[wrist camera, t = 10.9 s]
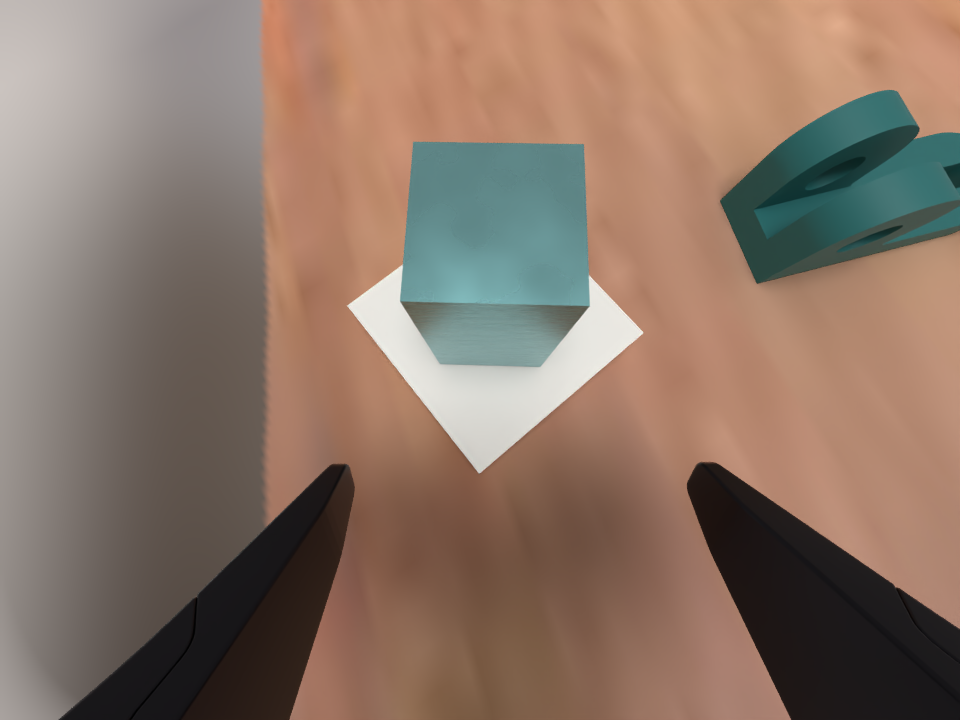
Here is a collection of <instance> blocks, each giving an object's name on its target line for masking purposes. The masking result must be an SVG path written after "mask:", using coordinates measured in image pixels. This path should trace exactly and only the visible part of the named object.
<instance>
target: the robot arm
mask: <svg viewBox="0 0 960 720" xmlns="http://www.w3.org/2000/svg"><path fill="white" fill-rule="evenodd" d="M354 490H355V486H354V481H353V478H352V474H351V471H350V467H349V465H347V464H332V465H330V466H329V467H328V468H327V469H325V470H324V471H323V472H322V473H321V474H320V475H319V476H318V477H317V478H316V479H315V480H314V481H313V482H312V483H311V484H310V485H309V486H308V487H307V488H306V489H305V490H304V491H303V492H302V493H301V494H300V495H299V496H298V497H297V498H296V499H295V500H294V501H293V502H292V503H291V504H290V505H289V506H287V507H286V508H285V509H284V510H283V511H282V512H281V513H280V514H279V515H278V516H277V517H276V518H275V519H274V520H273V521H272V522H271V523H270V524H269V525H268V526H267V527H266V528H265V529H264V530H263V531H262V532H261V533H260V534H259V535H258V536H257V537H256V538H255V539H254V540H253V541H252V542H250V543H249V544H248V545H247V546H246V547H245V549H243V550H242V551H241V552H240V553H239V554H238V555H237V556H236V557H235V558H234V559H233V560H232V561H231V562H230V563H229V564H228V565H227V566H226V567H225V568H224V569H223V570H222V571H221V572H220V573H219V574H218V575H217V576H216V577H215V578H213V580H211V581H210V582H209V583H208V584H207V585H206V586H205V587H204V588H203V589H202V590H201V591H200V592H199V593H198V595H197V597H194V598H193V599H192V600H191V601H190V602H189V603H188V604H187V605H186V606H185V607H184V608H183V609H181V610H180V611H179V612H178V613H177V614H176V615H175V616H174V617H173V618H172V619H171V620H170V621H169V622H168V623H167V624H166V625H165V626H164V627H163V628H161V629H160V630H159V631H158V632H157V633H156V634H155V635H154V636H153V637H152V638H151V639H150V640H149V641H148V642H147V643H146V644H144V645H143V646H142V647H141V648H140V649H139V650H138V651H137V652H136V653H134V654H133V655H132V656H131V657H130V658H129V659H128V660H126V661H125V663H123V664H122V665H121V666H120V667H119V668H118V669H116V670H115V671H114V672H113V673H112V674H111V675H110V676H109V677H107V678H106V679H105V680H104V681H103V682H102V683H100V684H99V685H98V686H97V687H96V688H95V689H94V690H92V691H91V692H90V693H89V694H88V695H87V696H85V697H84V698H83V699H82V700H81V701H80V702H78V703H77V704H76V705H75V706H74V707H73V708H71V710H69V711H68V712H67V713H66V714H65V715H63V716H62V717H61V718H60V719H59V720H289V719H290V716H291V713H292V709H293V706H294V703H295V700H296V697H297V694H298V691H299V687H300V684H301V681H302V678H303V675H304V672H305V669H306V665H307V662H308V659H309V656H310V653H311V650H312V647H313V643H314V640H315V637H316V634H317V631H318V628H319V625H320V621H321V618H322V615H323V612H324V609H325V606H326V602H327V599H328V596H329V593H330V590H331V587H332V584H333V580H334V577H335V574H336V571H337V568H338V565H339V561H340V558H341V554H342V550H343V546H344V541H345V536H346V531H347V526H348V521H349V516H350V512H351V507H352V502H353V497H354ZM687 491H688V494H689V497H690V499H691V502H692V505H693V507H694V510H695V513H696V515H697V518H698V521H699V524H700V526H701V529H702V532H703V534H704V537H705V540H706V542H707V545H708V547H709V550H710V552H711V554H712V556H713V559H714V561H715V563H716V565H717V567H718V569H719V571H720V573H721V575H722V577H723V579H724V581H725V584H726V586H727V588H728V590H729V592H730V594H731V596H732V598H733V600H734V602H735V604H736V606H737V608H738V610H739V613H740V615H741V617H742V619H743V621H744V623H745V625H746V627H747V629H748V631H749V633H750V635H751V637H752V639H753V642H754V644H755V646H756V648H757V650H758V652H759V654H760V656H761V658H762V660H763V662H764V664H765V666H766V668H767V670H768V673H769V675H770V677H771V679H772V681H773V683H774V685H775V687H776V689H777V691H778V693H779V695H780V697H781V699H782V702H783V704H784V706H785V708H786V710H787V712H788V714H789V716H790V718H791V720H960V629H959V628H957V627H956V626H954V625H953V624H951V623H950V622H948V621H947V620H945V619H944V618H942V617H941V616H939V615H938V614H936V613H935V612H933V611H932V610H930V609H929V608H927V607H926V606H924V605H923V604H922V603H920V602H919V601H917V600H916V599H914V598H913V597H911V596H910V595H908V594H907V593H906V592H904V591H903V590H901V589H900V588H895V586H894V585H893V584H892V583H891V582H889V581H888V580H886V579H885V578H884V577H882V576H881V575H879V574H878V573H876V572H875V571H873V570H872V569H870V568H869V567H868V566H866V565H865V564H863V563H862V562H860V561H859V560H857V559H856V558H854V557H853V556H852V555H850V554H849V553H847V552H846V551H844V550H843V549H841V548H840V547H838V546H837V545H835V544H834V543H833V542H831V541H830V540H828V539H827V538H825V537H824V536H822V535H821V534H819V533H818V532H817V531H815V530H814V529H812V528H811V527H809V526H808V525H806V524H805V523H803V522H802V521H801V520H799V519H798V518H796V517H795V516H793V515H792V514H790V513H789V512H787V511H786V510H785V509H783V508H782V507H780V506H779V505H777V504H776V503H774V502H773V501H771V500H770V499H769V498H767V497H766V496H764V495H763V494H761V493H760V492H758V491H757V490H755V489H754V488H753V487H751V486H750V485H748V484H747V483H745V482H744V481H742V480H741V479H739V478H738V477H737V476H735V475H734V474H732V473H731V472H729V471H728V470H726V469H725V468H723V467H722V466H720V465H719V464H717V463H714V462H700V463H698V464H697V465H696V466H695V468H694V470H693V472H692V474H691V476H690V478H689V480H688V482H687Z"/></svg>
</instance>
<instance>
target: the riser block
mask: <svg viewBox="0 0 960 720" xmlns="http://www.w3.org/2000/svg"><path fill="white" fill-rule="evenodd" d="M402 270H403V265H402V266H400V267H399V268H398V269H396V270H395V271H394V272H392V273H391V274H390V275H388V276H387V277H385V278H384V279H383V280H381V281H380V282H379V283H377V284H376V285H375V286H373V287H372V288H371V289H369V290H368V291H367V292H365V293H364V294H363V295H361V296H360V297H358V298H357V299H356V300H354V301H353V302H352V303H350V304H349V305H348V307H349V309H350V310H351V311H352V312H353V314H354V315H355V316H356V317H357V319H358V320H359V321H360V323H361V324H362V325H363V326H364V328H365V329H366V330H367V331H368V333H369V334H370V335H371V337H372V338H373V339H374V340H375V342H376V343H377V344H378V345H379V347H380V348H381V349H382V351H383V352H384V353H385V354H386V356H387V357H388V358H389V359H390V361H391V362H392V363H393V365H394V366H395V367H396V368H397V370H398V371H399V372H400V373H401V375H402V376H403V377H404V379H405V380H406V381H407V382H408V384H409V385H410V386H411V387H412V389H413V390H414V391H415V393H416V394H417V395H418V396H419V398H420V399H421V400H422V401H423V403H424V404H425V405H426V407H427V408H428V409H429V410H430V412H431V413H432V414H433V415H434V417H435V418H436V419H437V421H438V422H439V423H440V424H441V426H442V427H443V428H444V429H445V431H446V432H447V433H448V435H449V436H450V437H451V438H452V440H453V441H454V442H455V443H456V445H457V446H458V447H459V449H460V450H461V451H462V452H463V454H464V455H465V456H466V457H467V459H468V460H469V461H470V463H471V464H472V465H473V466H474V468H475V469H476V470H477V472H478V473H479V474H480V473H481V472H482V471H483V470H484V469H485V468H487V467H488V466H489V465H490V464H491V463H492V462H494V461H495V460H496V459H497V458H498V457H499V456H501V455H502V454H503V453H504V452H505V451H506V450H508V449H509V448H510V447H511V446H512V445H513V444H515V443H516V442H517V441H518V440H519V439H520V438H522V437H523V436H524V435H525V434H526V433H527V432H529V431H530V430H531V429H532V428H533V427H534V426H536V425H537V424H538V423H539V422H540V421H541V420H543V419H544V418H545V417H546V416H547V415H548V414H550V413H551V412H552V411H553V410H554V409H555V408H557V407H558V406H559V405H560V404H561V403H562V402H564V401H565V400H566V399H567V398H568V397H569V396H571V395H572V394H573V393H574V392H575V391H576V390H578V389H579V388H580V387H581V386H582V385H583V384H585V383H586V382H587V381H588V380H589V379H590V378H592V377H593V376H594V375H595V374H596V373H597V372H599V371H600V370H601V369H602V368H603V367H604V366H606V365H607V364H608V363H609V362H610V361H611V360H613V359H614V358H615V357H616V356H617V355H618V354H620V353H621V352H622V351H623V350H624V349H625V348H627V347H628V346H629V345H630V344H631V343H632V342H634V341H635V340H636V339H637V338H638V337H639V336H641V335H642V334H643V332H642V331H641V329H640V328H639V327H638V326H637V325H636V324H635V323H634V322H633V321H632V320H631V319H630V318H629V317H628V316H627V315H626V314H625V313H624V312H623V311H622V310H621V308H620V307H619V306H618V305H617V304H616V303H615V302H614V301H613V300H612V299H611V298H610V297H609V296H608V295H607V294H606V293H605V292H604V291H603V290H602V288H601V287H600V286H599V285H598V284H597V283H596V282H595V281H594V280H593V279H592V278H591V277H590V276H589V295H590V307H589V308H588V309H587V310H586V311H585V313H584V314H583V315H582V316H581V318H580V319H579V320H578V321H577V323H576V324H575V325H574V326H573V327H572V329H571V330H570V331H569V332H568V334H567V335H566V336H565V337H564V338H563V340H562V341H561V342H560V343H559V345H558V346H557V347H556V348H555V350H554V351H553V352H552V353H551V354H550V356H549V357H548V358H547V359H546V361H545V362H544V363H543V364H542V365H541V367H524V366H488V365H452V364H440V363H439V362H438V360H437V359H436V357H435V356H434V354H433V352H432V351H431V349H430V348H429V346H428V345H427V343H426V342H425V340H424V338H423V337H422V335H421V334H420V332H419V331H418V329H417V327H416V326H415V324H414V323H413V321H412V320H411V318H410V317H409V315H408V313H407V312H406V310H405V309H404V307H403V306H402V304H401V302H400V294H401V282H402Z"/></svg>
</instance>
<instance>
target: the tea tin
mask: <svg viewBox="0 0 960 720" xmlns="http://www.w3.org/2000/svg"><path fill="white" fill-rule="evenodd" d="M400 302H401V304H402V306H403V307H404V309H405V310H406V312H407V313H408V315H409V317H410V318H411V320H412V321H413V323H414V324H415V326H416V327H417V329H418V331H419V332H420V334H421V335H422V337H423V338H424V340H425V342H426V343H427V345H428V346H429V348H430V349H431V351H432V352H433V354H434V356H435V357H436V359H437V360H438V362H439V363H440V364H452V365H488V366H524V367H541V365H542V364H543V363H544V362H545V361H546V359H547V358H548V357H549V356H550V354H551V353H552V352H553V351H554V350H555V348H556V347H557V346H558V345H559V343H560V342H561V341H562V340H563V338H564V337H565V336H566V335H567V334H568V332H569V331H570V330H571V329H572V327H573V326H574V325H575V324H576V323H577V321H578V320H579V319H580V318H581V316H582V315H583V314H584V313H585V311H586V310H587V309H588V308H589V307H590V295H589V268H588V242H587V215H586V188H585V162H584V144H527V143H458V142H413V152H412V164H411V176H410V188H409V199H408V211H407V223H406V235H405V247H404V258H403V270H402V282H401V294H400Z"/></svg>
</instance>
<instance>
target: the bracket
mask: <svg viewBox="0 0 960 720" xmlns="http://www.w3.org/2000/svg"><path fill="white" fill-rule="evenodd" d="M918 133H919V127H918V125H917V123H916V122H915V120H914V118H913V117H912V115H911V113H910V112H909V110H908V108H907V107H906V105H905V103H904V102H903V100H902V98H901V97H900V95H899V93H898V92H897V91H894V90H885V91H880V92H875V93H872V94H869V95H866V96H863V97H861V98H858V99H856V100H853V101H851V102H849V103H847V104H845V105H842V106H840V107H838V108H836V109H834V110H833V111H831V112H829V113H827V114H825V115H823V116H822V117H820V118H818V119H817V120H815V121H813V122H812V123H810V124H808V125H807V126H805V127H804V128H802V129H801V130H799V131H798V132H796V133H795V134H793V135H792V136H791V137H789V138H788V139H786V140H785V141H784V142H783V143H781V144H780V145H779V146H778V147H776V148H775V149H774V150H773V151H772V152H771V153H769V154H768V155H767V156H766V157H765V158H764V159H763V160H762V161H761V162H760V163H759V164H758V165H757V166H756V167H755V168H754V169H753V170H752V171H751V172H750V173H748V174H747V175H746V176H745V177H744V178H743V179H742V180H741V181H740V182H739V183H738V184H737V185H736V186H735V187H734V188H733V189H732V190H731V191H730V192H729V193H728V194H727V195H726V196H724V197H723V198H722V199H721V200H720V202H721V204H722V206H723V209H724V211H725V213H726V215H727V218H728V220H729V222H730V224H731V227H732V229H733V231H734V233H735V236H736V238H737V240H738V242H739V245H740V247H741V249H742V251H743V254H744V256H745V258H746V260H747V263H748V265H749V267H750V269H751V272H752V274H753V276H754V278H755V281H756V283H757V284H758V283H762V282H766V281H770V280H774V279H777V278H781V277H785V276H789V275H793V274H797V273H801V272H805V271H809V270H813V269H817V268H821V267H824V266H828V265H832V264H836V263H840V262H844V261H848V260H852V259H856V258H860V257H864V256H868V255H871V254H875V253H879V252H883V251H887V250H891V249H895V248H899V247H903V246H907V245H911V244H914V243H918V242H922V241H926V240H930V239H934V238H938V237H942V236H946V235H949V234H952V233H955V232H957V231H959V230H960V133H939V134H934V135H930V136H926V137H922V138H917V139H914V138H915V137H916V136H917V134H918Z"/></svg>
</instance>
